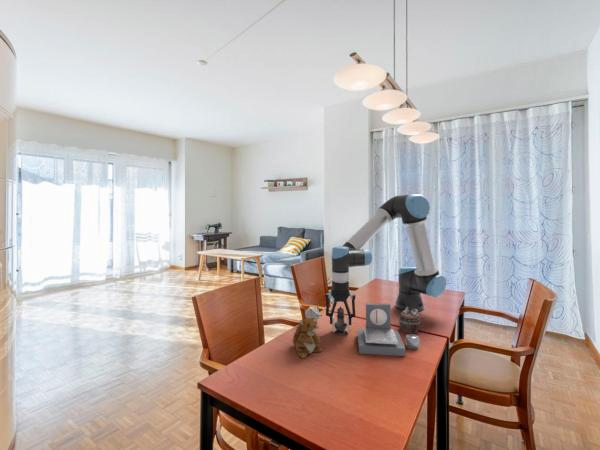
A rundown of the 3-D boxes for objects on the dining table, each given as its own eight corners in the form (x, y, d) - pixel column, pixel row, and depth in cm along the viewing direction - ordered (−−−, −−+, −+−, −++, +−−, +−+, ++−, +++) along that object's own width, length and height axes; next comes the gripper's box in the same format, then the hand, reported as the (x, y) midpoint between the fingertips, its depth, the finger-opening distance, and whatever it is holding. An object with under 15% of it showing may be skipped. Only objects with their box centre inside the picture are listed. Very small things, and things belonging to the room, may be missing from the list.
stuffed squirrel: (303, 360, 107) (303, 325, 107) (285, 345, 119) (285, 314, 119) (325, 353, 112) (325, 320, 112) (306, 340, 125) (305, 309, 124)
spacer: (417, 343, 120) (417, 334, 119) (420, 349, 115) (420, 339, 115) (404, 343, 120) (404, 333, 120) (407, 348, 116) (407, 338, 115)
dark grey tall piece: (333, 329, 135) (332, 304, 134) (345, 329, 135) (345, 303, 135) (335, 335, 129) (335, 308, 128) (348, 334, 129) (348, 307, 129)
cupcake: (399, 324, 141) (399, 303, 140) (421, 327, 137) (421, 306, 136) (397, 331, 132) (397, 309, 132) (420, 335, 128) (420, 312, 127)
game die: (315, 328, 145) (327, 312, 146) (311, 329, 138) (323, 311, 139) (302, 317, 149) (313, 301, 150) (297, 317, 142) (309, 300, 143)
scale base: (397, 338, 125) (398, 303, 125) (405, 356, 109) (405, 317, 109) (357, 335, 128) (357, 302, 127) (359, 353, 112) (359, 315, 111)
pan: (393, 333, 122) (393, 329, 122) (398, 347, 110) (398, 341, 110) (363, 332, 124) (363, 327, 124) (365, 345, 112) (365, 340, 112)
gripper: (361, 279, 133) (361, 329, 134) (320, 278, 136) (320, 327, 137) (362, 283, 126) (362, 336, 127) (318, 282, 129) (319, 333, 130)
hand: (340, 331), depth 132 cm, fingers closed on dark grey tall piece, 6 cm apart
